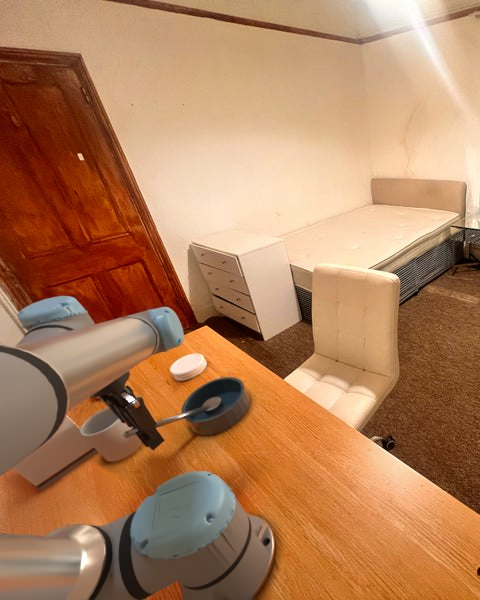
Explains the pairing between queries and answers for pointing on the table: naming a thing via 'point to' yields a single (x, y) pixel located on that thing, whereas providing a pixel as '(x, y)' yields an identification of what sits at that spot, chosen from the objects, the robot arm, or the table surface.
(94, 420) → the mug
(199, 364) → the white round lid
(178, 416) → the spoon
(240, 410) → the bowl
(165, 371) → the table surface
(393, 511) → the table surface
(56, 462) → the white upright box
